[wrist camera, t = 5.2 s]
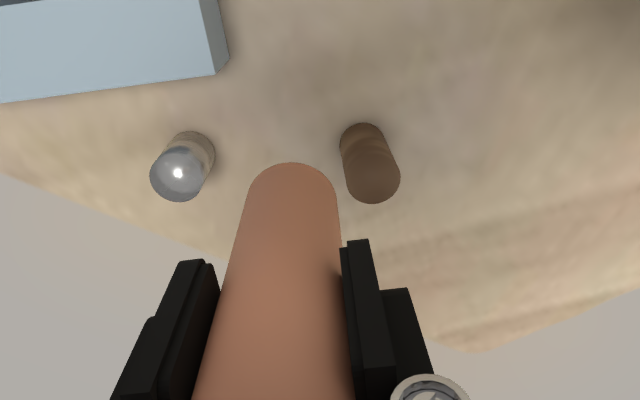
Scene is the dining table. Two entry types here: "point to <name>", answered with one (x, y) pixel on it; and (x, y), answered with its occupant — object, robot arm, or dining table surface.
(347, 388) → the long pin
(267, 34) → the dining table surface
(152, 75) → the hole block
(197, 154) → the short pin
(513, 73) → the dining table surface
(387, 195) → the mid pin
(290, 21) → the dining table surface
